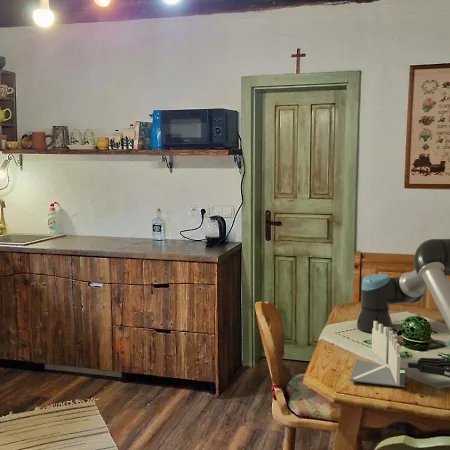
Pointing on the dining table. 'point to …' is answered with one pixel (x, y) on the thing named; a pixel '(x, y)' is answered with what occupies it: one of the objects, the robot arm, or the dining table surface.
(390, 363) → the panel
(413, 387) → the dining table surface
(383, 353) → the fixed fence section
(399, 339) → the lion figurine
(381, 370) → the card
